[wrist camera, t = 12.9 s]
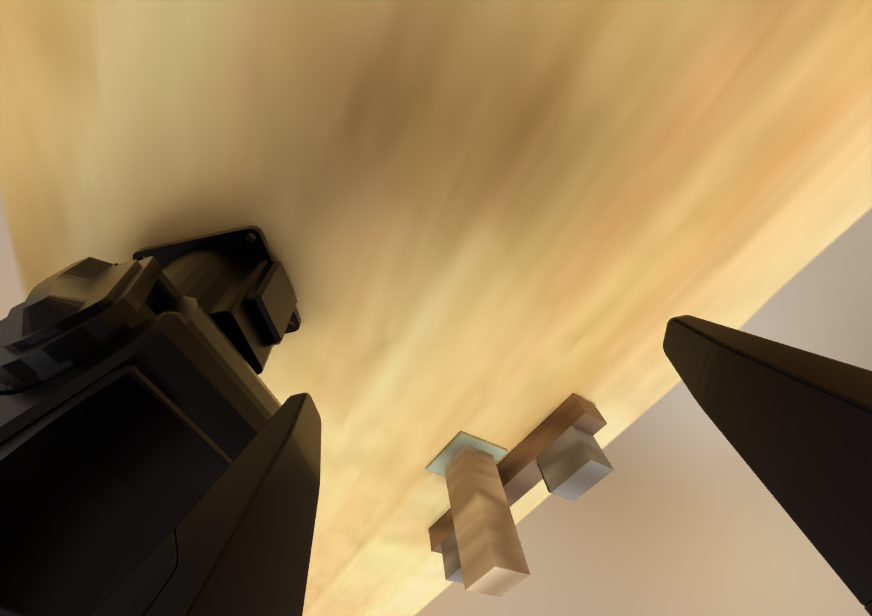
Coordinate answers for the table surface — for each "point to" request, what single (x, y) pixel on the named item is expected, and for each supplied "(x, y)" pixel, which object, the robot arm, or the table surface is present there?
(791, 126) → the table surface
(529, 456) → the rail
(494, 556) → the tan wooden block
